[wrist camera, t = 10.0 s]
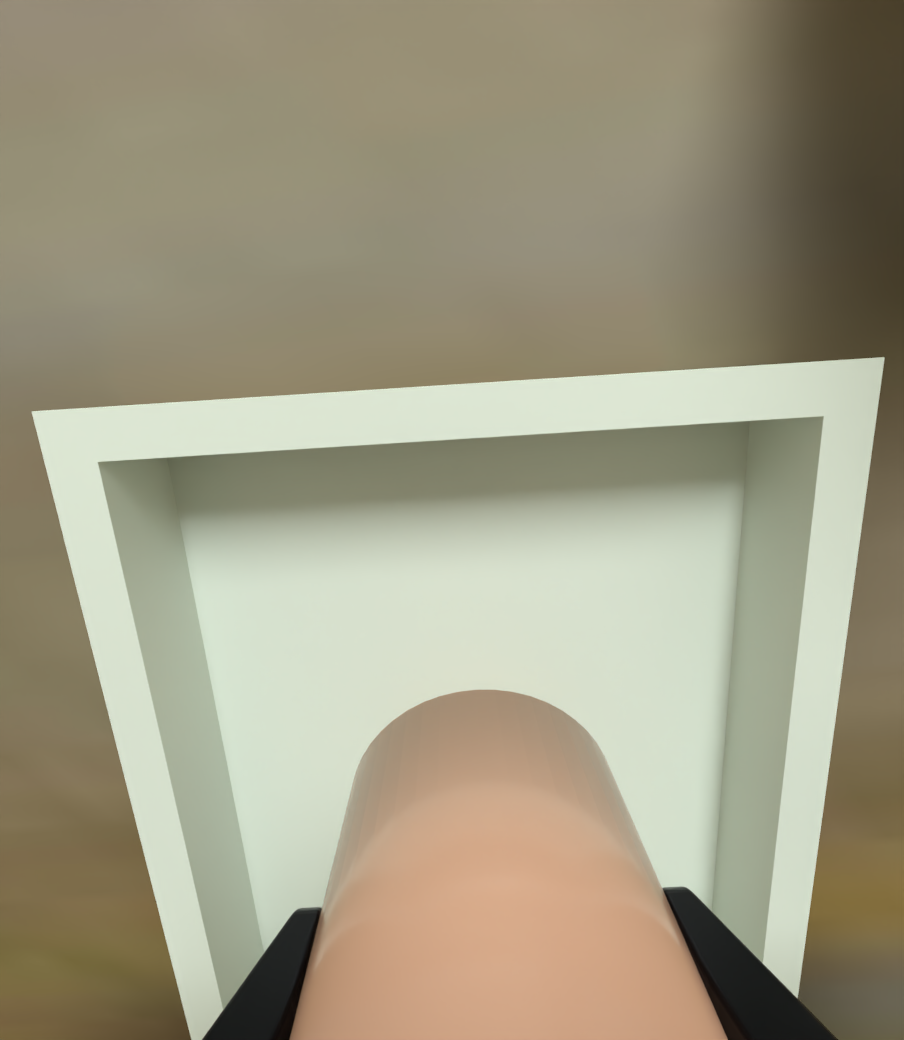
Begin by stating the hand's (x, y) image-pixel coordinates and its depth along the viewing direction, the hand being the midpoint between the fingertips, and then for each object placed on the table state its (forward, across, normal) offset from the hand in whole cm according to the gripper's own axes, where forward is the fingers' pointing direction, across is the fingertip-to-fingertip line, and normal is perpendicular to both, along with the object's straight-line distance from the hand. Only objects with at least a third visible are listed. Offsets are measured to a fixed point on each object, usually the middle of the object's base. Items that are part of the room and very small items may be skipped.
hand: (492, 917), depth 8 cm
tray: (+4, 0, 0) cm, 4 cm away
